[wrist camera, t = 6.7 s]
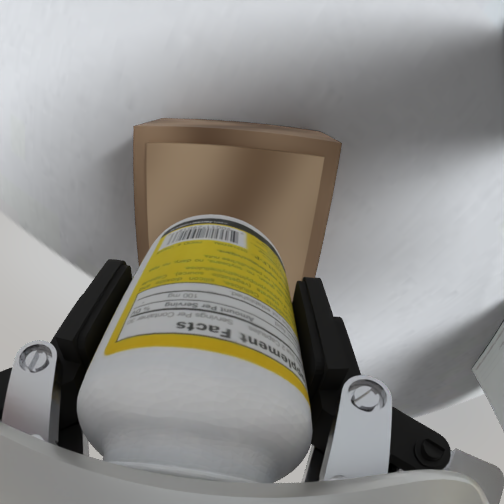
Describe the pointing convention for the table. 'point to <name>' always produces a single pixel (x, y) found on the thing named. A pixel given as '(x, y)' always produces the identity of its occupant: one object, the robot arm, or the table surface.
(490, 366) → the supplement box
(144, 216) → the brown square tray
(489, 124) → the table surface
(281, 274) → the supplement bottle
